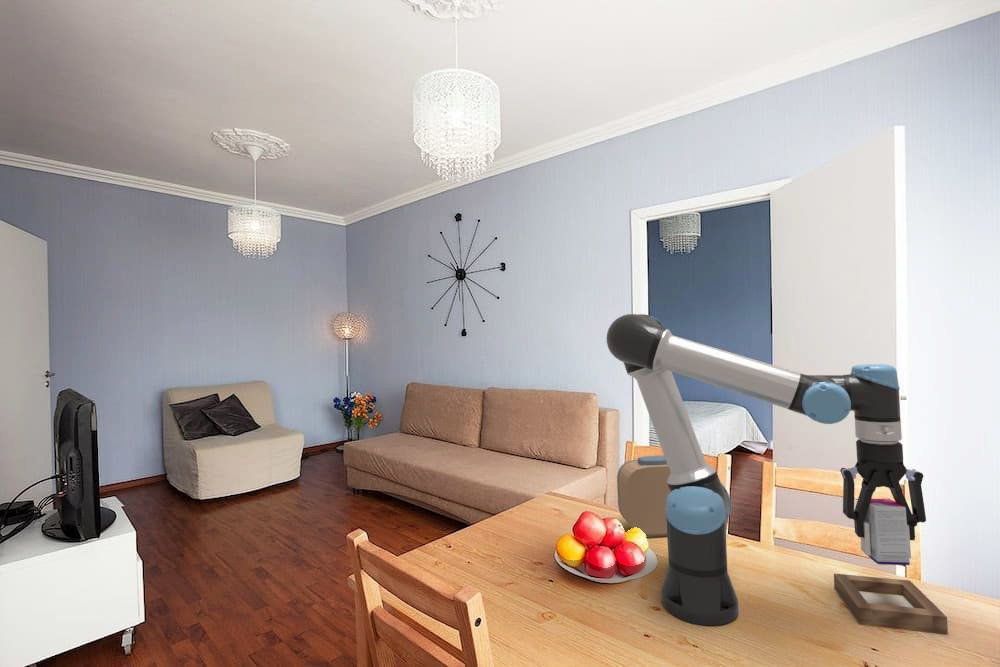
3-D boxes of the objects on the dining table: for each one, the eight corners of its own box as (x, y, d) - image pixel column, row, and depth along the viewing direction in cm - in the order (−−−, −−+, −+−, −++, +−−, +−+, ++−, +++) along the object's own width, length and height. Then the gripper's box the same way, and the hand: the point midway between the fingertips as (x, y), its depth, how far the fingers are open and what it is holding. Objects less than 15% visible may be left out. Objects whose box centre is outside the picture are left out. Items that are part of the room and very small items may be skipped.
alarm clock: (685, 522, 149) (682, 451, 149) (699, 535, 139) (696, 459, 140) (618, 527, 148) (615, 455, 148) (628, 540, 138) (625, 463, 138)
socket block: (859, 624, 95) (858, 607, 95) (834, 587, 109) (833, 573, 109) (947, 634, 91) (947, 617, 91) (910, 595, 104) (909, 580, 105)
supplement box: (911, 565, 96) (906, 507, 97) (877, 564, 98) (872, 507, 98) (894, 552, 102) (890, 497, 102) (862, 552, 103) (857, 497, 104)
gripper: (830, 443, 99) (837, 558, 99) (946, 445, 94) (953, 566, 93) (819, 436, 107) (825, 543, 106) (925, 437, 101) (932, 549, 101)
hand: (885, 553), depth 100 cm, fingers closed on supplement box, 6 cm apart
